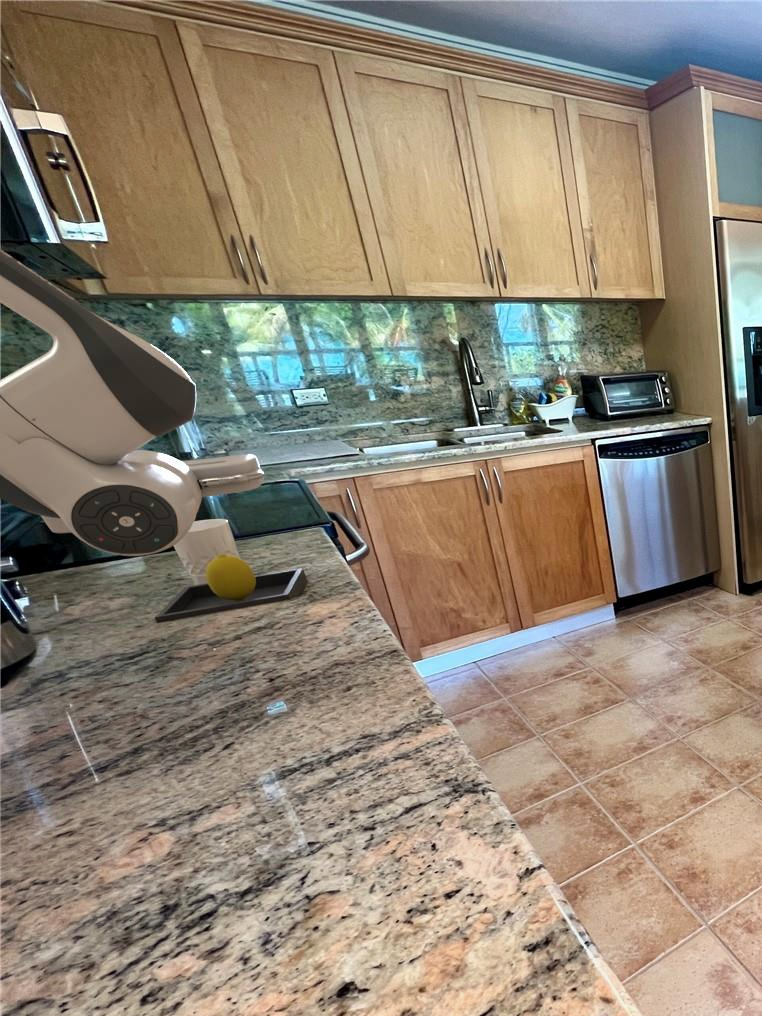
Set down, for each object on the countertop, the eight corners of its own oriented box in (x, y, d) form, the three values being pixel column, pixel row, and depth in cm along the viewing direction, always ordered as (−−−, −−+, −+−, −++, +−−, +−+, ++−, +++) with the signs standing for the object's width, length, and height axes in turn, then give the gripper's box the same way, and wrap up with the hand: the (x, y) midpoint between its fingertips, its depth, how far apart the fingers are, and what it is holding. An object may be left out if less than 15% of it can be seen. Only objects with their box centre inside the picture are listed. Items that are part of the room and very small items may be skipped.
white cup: (205, 576, 113) (182, 522, 109) (257, 570, 115) (236, 516, 111) (181, 592, 106) (155, 535, 102) (237, 585, 109) (213, 529, 105)
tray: (161, 633, 92) (154, 617, 91) (191, 601, 103) (184, 586, 102) (293, 609, 98) (287, 594, 97) (308, 581, 109) (303, 567, 108)
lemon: (209, 607, 99) (188, 558, 95) (247, 593, 103) (228, 547, 100) (234, 611, 97) (214, 561, 94) (271, 596, 102) (253, 549, 99)
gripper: (254, 451, 76) (255, 437, 86) (0, 477, 65) (35, 458, 75) (273, 502, 79) (271, 483, 89) (31, 537, 67) (61, 511, 77)
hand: (161, 472), depth 82 cm, fingers open, 8 cm apart
